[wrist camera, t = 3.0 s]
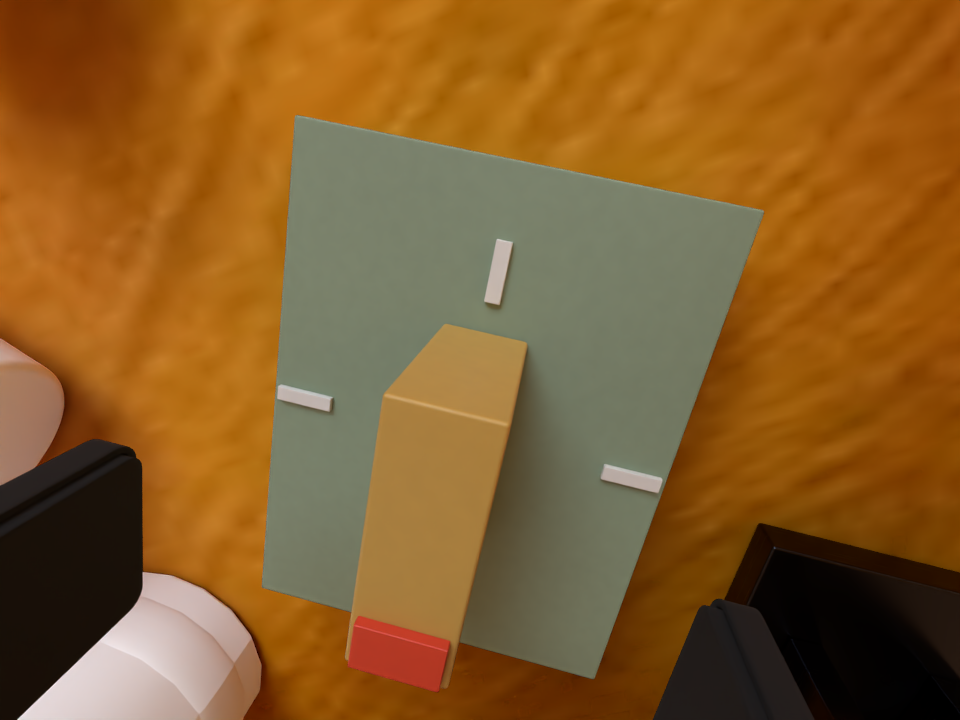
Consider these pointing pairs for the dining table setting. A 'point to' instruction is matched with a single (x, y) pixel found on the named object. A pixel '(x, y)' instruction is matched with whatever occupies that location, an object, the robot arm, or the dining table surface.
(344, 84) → the dining table surface
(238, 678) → the bottle
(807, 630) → the handle bracket
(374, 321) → the plate
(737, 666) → the robot arm
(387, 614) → the lock knob
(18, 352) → the mug
